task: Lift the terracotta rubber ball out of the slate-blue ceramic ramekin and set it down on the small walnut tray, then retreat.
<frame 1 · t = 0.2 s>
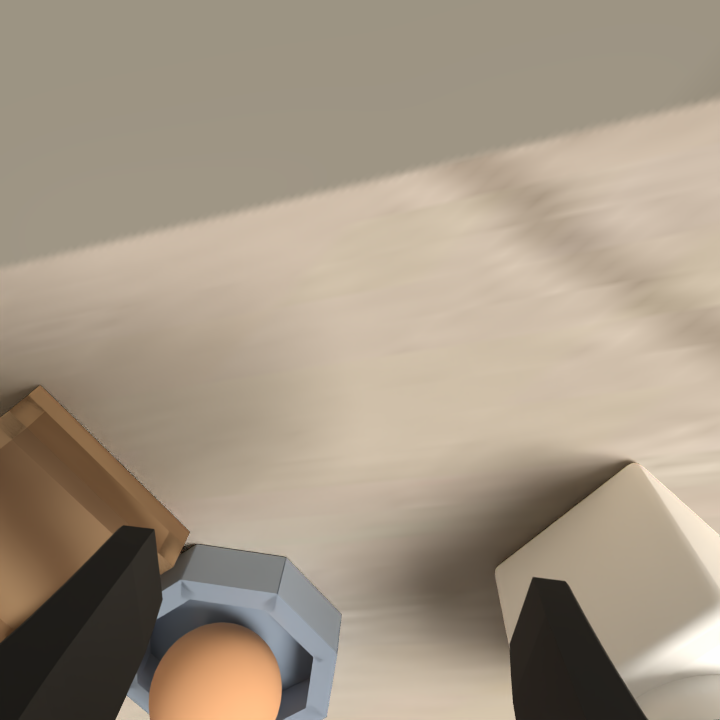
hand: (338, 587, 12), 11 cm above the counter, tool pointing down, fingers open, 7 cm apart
ramekin: (235, 631, 27), on the counter
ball: (232, 640, 26), resting on ramekin
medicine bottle: (618, 562, 25), on the counter
tray: (33, 523, 25), on the counter
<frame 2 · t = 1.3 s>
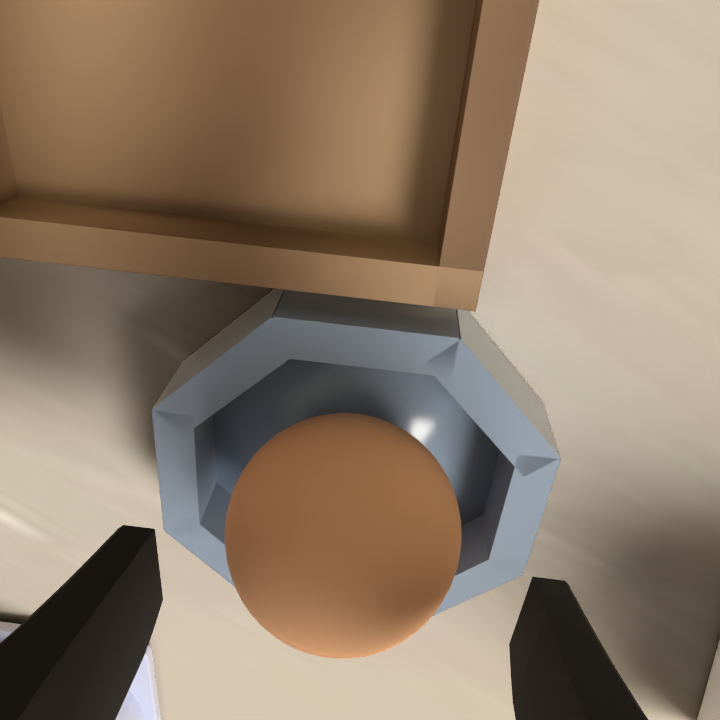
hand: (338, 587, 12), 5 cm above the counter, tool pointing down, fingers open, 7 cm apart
ramekin: (355, 442, 16), on the counter
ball: (353, 455, 16), resting on ramekin
tray: (234, 36, 11), on the counter
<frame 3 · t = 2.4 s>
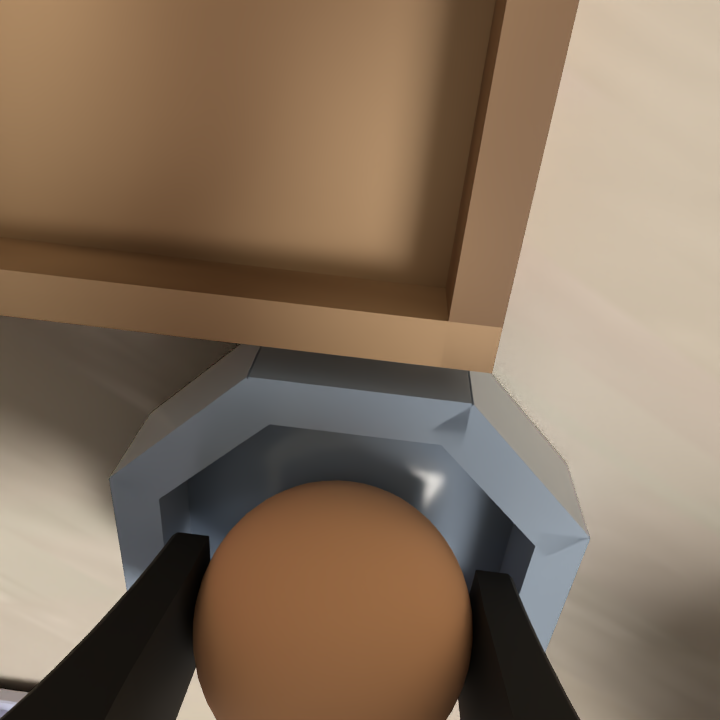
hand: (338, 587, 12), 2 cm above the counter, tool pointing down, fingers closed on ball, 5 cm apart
ramekin: (349, 503, 14), on the counter
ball: (347, 519, 14), resting on ramekin, touching gripper
tray: (199, 40, 9), on the counter
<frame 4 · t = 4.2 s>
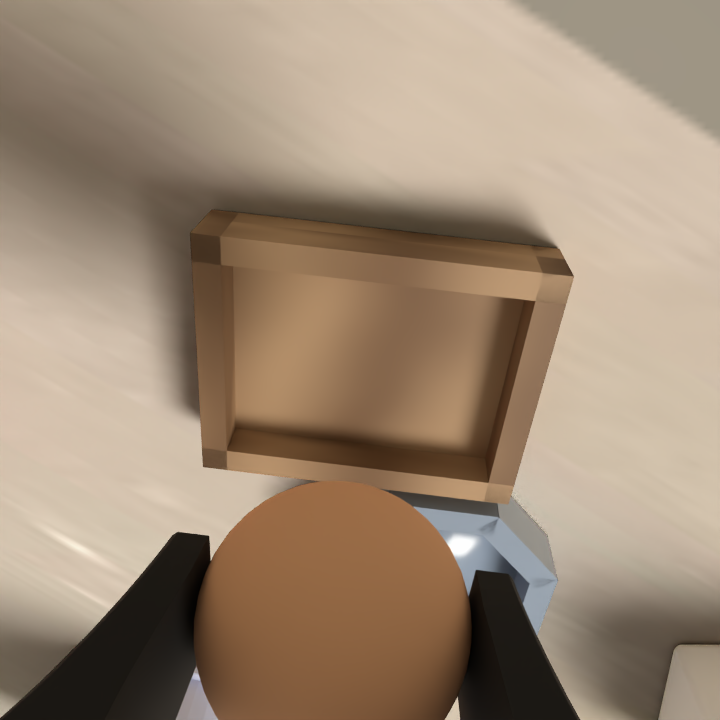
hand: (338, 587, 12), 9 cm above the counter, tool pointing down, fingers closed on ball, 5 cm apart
ramekin: (424, 555, 24), on the counter
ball: (350, 520, 14), point 7 cm above the counter, touching gripper
tray: (370, 349, 20), on the counter
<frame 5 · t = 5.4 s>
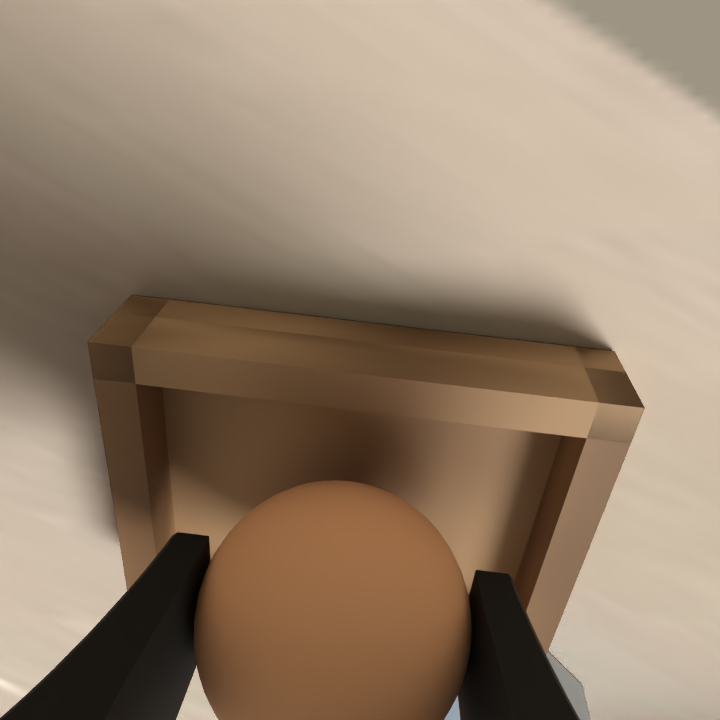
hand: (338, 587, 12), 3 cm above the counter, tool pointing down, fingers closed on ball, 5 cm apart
ramekin: (425, 701, 19), on the counter
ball: (350, 519, 14), point 2 cm above the counter, touching gripper
tray: (354, 470, 15), on the counter
when the fingers open (3 cm above the counter, at t = 6.1 s): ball stays where it is, resting on tray.
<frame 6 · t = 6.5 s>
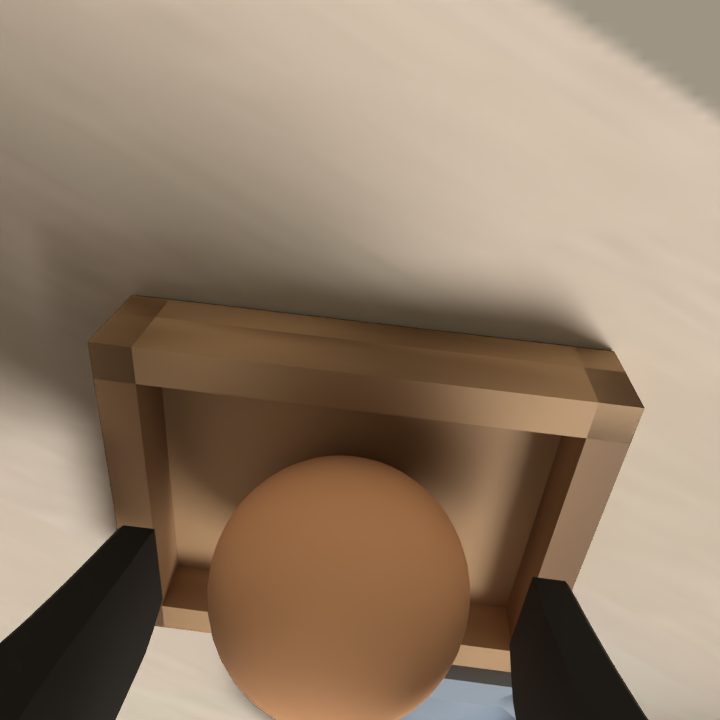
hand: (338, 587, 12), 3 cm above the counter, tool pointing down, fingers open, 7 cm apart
ramekin: (425, 701, 19), on the counter
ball: (353, 496, 14), point 1 cm above the counter, touching tray
tray: (354, 470, 15), on the counter
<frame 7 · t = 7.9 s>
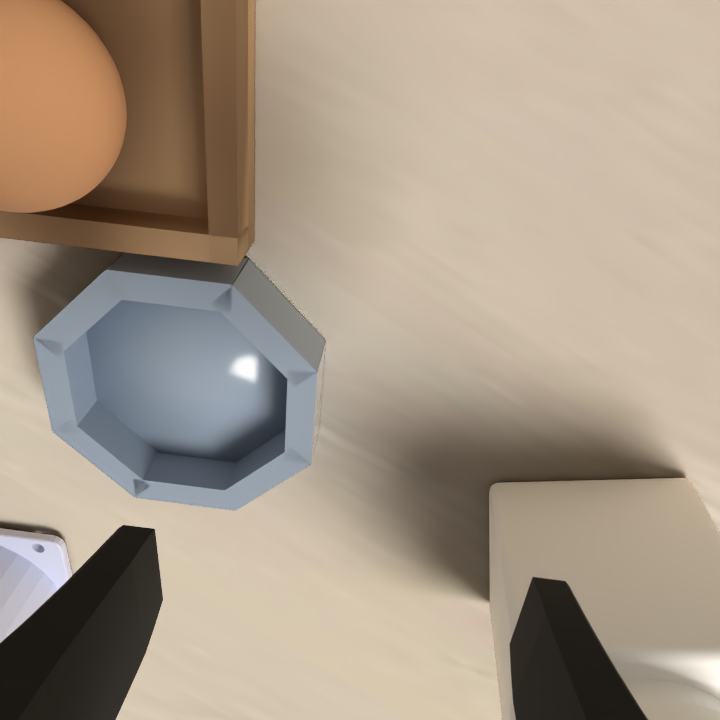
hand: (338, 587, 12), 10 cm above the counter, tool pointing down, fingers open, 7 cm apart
ramekin: (196, 370, 22), on the counter
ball: (63, 87, 16), point 1 cm above the counter, touching tray
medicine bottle: (579, 541, 25), on the counter
tray: (74, 80, 17), on the counter
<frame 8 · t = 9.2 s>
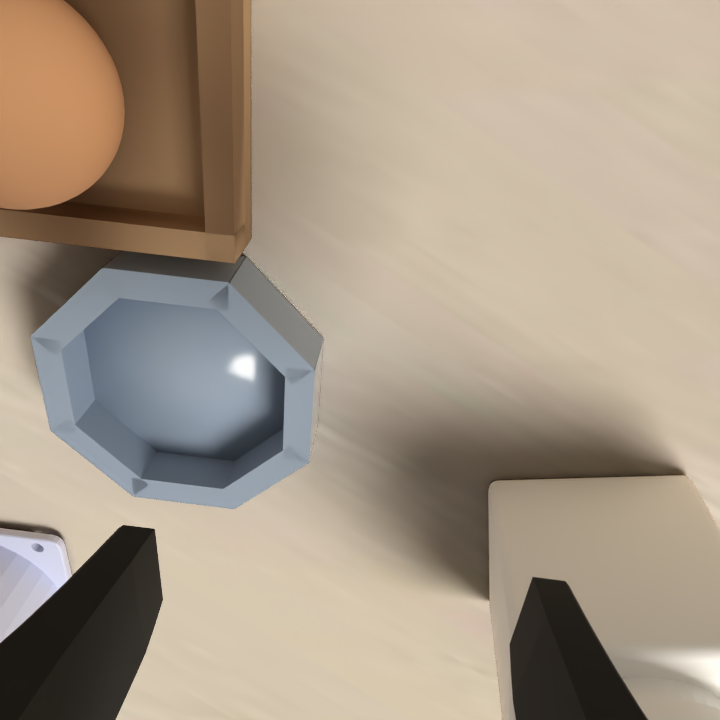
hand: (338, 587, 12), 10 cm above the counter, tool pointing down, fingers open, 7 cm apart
ramekin: (194, 369, 22), on the counter
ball: (58, 85, 16), point 1 cm above the counter, touching tray
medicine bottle: (579, 539, 25), on the counter
tray: (70, 78, 17), on the counter
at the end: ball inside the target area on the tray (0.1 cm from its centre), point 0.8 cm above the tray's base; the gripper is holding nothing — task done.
